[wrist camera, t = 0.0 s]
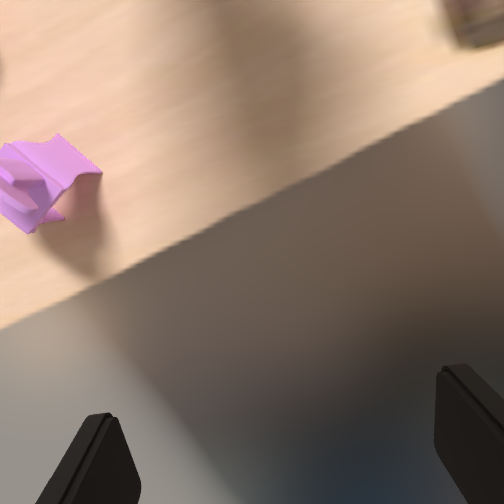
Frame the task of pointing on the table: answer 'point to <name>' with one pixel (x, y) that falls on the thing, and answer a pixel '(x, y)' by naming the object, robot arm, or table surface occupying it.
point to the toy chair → (38, 179)
